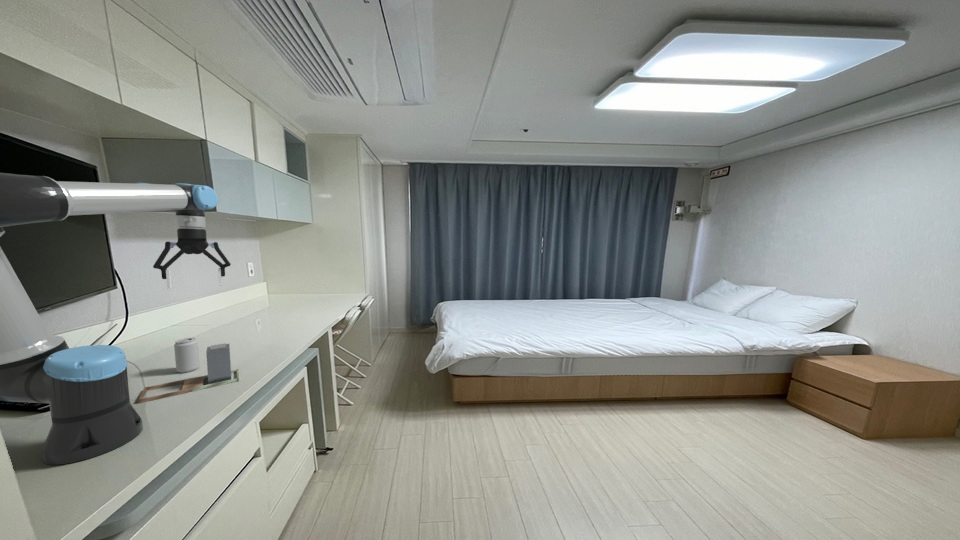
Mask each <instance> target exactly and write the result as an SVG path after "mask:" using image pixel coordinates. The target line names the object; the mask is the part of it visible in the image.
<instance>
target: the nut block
mask: <svg viewBox="0 0 960 540" xmlns="http://www.w3.org/2000/svg"><path fill="white" fill-rule="evenodd" d="M230 346H231V345H230V343H226V342H225V343H218V344H211V345H210V346H207V348H206V352H205V354H206V364H207V367H206V368H207V375H208V378H207V383H208V384H213V383H217V382H222V381H227V380H231V379H232V373H231V370H232V365H231V364H232V363H231V361H232V360H231V350H230V349H231V347H230ZM208 384H207V385H208Z"/></svg>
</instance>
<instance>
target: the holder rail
mask: <svg viewBox="0 0 960 540" xmlns="http://www.w3.org/2000/svg"><path fill="white" fill-rule="evenodd" d="M234 372H235V373H236V378H231V380H227V381H222V382H217V383H213V384H205V385H204V383H205V379H208V374H206V375H200V376H195V377H191V378H186V379H181V380H177V381H176V380H175V381H171V382H166V383H160V384H156V385H151V386H150V385H149V386H146V387H144V388H143V390H142V392H141V394H140V395H139V398H137V404H140V403H141V404H142V403H147V402H150V401H154V400H160V399H163V398H168V397H173V396H178V395H181V394H188V393H192V392H195V391H199V390H206V389H210V388H214V387H218V386H222V385H223V384H224V385H226V384H227V383H228V384H232V383H231V382H233V383H236V382H235V381H237V382H239V381H240V377H239V376H240V375H239V368H235V369H231V374H234ZM181 384H183V385H182V388H181V390H176V391H171V392H166V393H163V394H162V393H161V394H158V395H152V396H148V397H145V396H146V393H147V391H152V390H156V389H161V388H166V387H170V386H176V385H181ZM228 384H227V385H228Z"/></svg>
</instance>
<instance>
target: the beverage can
mask: <svg viewBox="0 0 960 540" xmlns="http://www.w3.org/2000/svg"><path fill="white" fill-rule="evenodd" d="M173 347H174V348H173V349H174V357H175V358H174V360H175V371H176V372H178V373H179V374H186V373H191V372H193V371H195V370H197V369H199V367H200V355H199V354H200V353H199V341H198V340H197V337H184V338H180V339H176V340H175V343H174V345H173Z"/></svg>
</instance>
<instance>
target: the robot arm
mask: <svg viewBox="0 0 960 540" xmlns="http://www.w3.org/2000/svg"><path fill="white" fill-rule="evenodd" d="M218 203H219V197H218V193H217V192H216V191H215V189H214V188H212V187H210V186H208V185H200V184H192V183H191V184H190V183H180V182H178V183H177V182H176V183H174V184H165V183H163V184H161V183H157V184H156V183H150V182H148V183H147V182H135V183H133V182H132V183H131V182H130V183H125V182H122V183H121V182H96V181H94V182H93V181H91V182H89V181H64V180H63V181H61V180H58V181H57V180H55V179H54V178H51V177H49V176H45V175H28V174H17V173H16V174H15V173H6V172H0V237H2V236H3V235H4V234H5V233H6V231H5V229H4V227H11V226H18V225H28V224H36V223H45V222H46V223H47V222H48V223H49V222H59V221H60V222H61V221H64V220H66V219H67V218H68V217H69V216H83V215H85V216H86V215H87V216H88V215H105V214H123V213H126V214H127V213H143V212H145V213H146V212H162V211H164V212H165V211H175V219H176V221H175V222H176V227H177V228H178V229H176V232H177V233H176V234H177V242H176V241H175V242H172V241H165V243H164V249H162V251H161V253H160V255H158V258H157V259H156V261H155V263H154V264H153V265H152V268H153V269H157V270H160V272H161V279H162V280H166V289H167V290H169V289H172V287H173V286H172V278H171V269H168V268H169V267H171V265H173V263H175V262H176V261H177V260H178V259H179V258H180V257H182V255H184V254H185V255H192V254H193V255H201V254H203V255H204V256H206V257H207V258H208V259H209V260H211V261H212V262H213V263H215V264H216V265H217V266H218V268H217V275H218V277H217V278H218V286H223V285H222V284H223V282H222V281H223V280H222V279H223V278H222V277H225V276H226V268H227V267H230V266H231V262H230V261H229V259H228V258H227V257H226V255H225V254H224V253H223V251H222V250H221V248H220V246H219V243H218V242H217V241H216V242H214V241H213V242H208V240H207V230H206V228H207V227H206V224H207V223H206V217H205V216H206V212H205V210H213V209H214V208H216V206H217V205H218ZM175 246H176V247H177V248H178V249H179V251H178V252H177V253H175V254H174V255H173V256H172V257H171V258H170V259H169V260H168V261H166V262H165V264H163V265H162V263H163V262H164V260H165V259H166V257H167V255H168V254H169V252H170V251H171V249H174V247H175ZM208 247H211V248H212V249H214V250H215V251H216V253H217V254H218V256H219V257H220V258H221V260H222V262H224V263H222V262H221V261H220V260H218V258H216V257H215V256H214V255H213V254H211V253H210V252H209V251H208V250H207V249H208ZM45 325H46V324H45V323H44V322H43V320H42V318H41V316H40V315H39V313H38V311H37V309H36V308H35V306H34V304H33V302H32V300H31V299H30V297H29V295H28V293H27V291H26V290H25V288H24V286H23V285H22V282H21V280H20V279H19V278H18V276H17V273H16V272H15V270H14V268H13V267H12V264H11V262H10V261H9V259H8V257H7V255H6V254H5V252H4V250H3V249H2V247H1V246H0V401H2V402H3V401H4V402H9V403H31V404H32V403H34V404H48V405H49V410H50V417H51V426H50V428H49V432H48V434H47V435H46V439H45V440H44V441H45V442H44V444H43V447H42V449H41V457H42V463H44V464H46V465H50V466H51V465H52V466H55V465H57V466H58V465H67V464H71V463H76V462H80V461H84V460H89V459H91V458H95V457H98V456H100V455H103V454H106V453H108V452H111V451H113V450H115V449H117V448H120V447H122V446H124V445H125V444H127V443H129V442H131V441H132V440H134V439H135V438H136V437H138V436H139V435H140V434H141V433H142V431H143V429H144V428H143V427H144V426H143V419H142V417H141V416H140V415H139V414H138V412H137V411H136V409H135V408H134V407H133V405H132V404H131V399H130V397H131V396H130V388H129V378H128V360H127V358H126V355H125V352H124V350H123V349H122V348H120V347H118V346H114V345H111V344H110V345H109V344H96V345H91V344H89V345H82V346H76V347H75V346H74V347H69V346H68V344H67V341H66V340H65V338H64V337H63V336H59V335H55V334H50V332H49V331H48V328H47V327H46V326H45Z"/></svg>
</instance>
